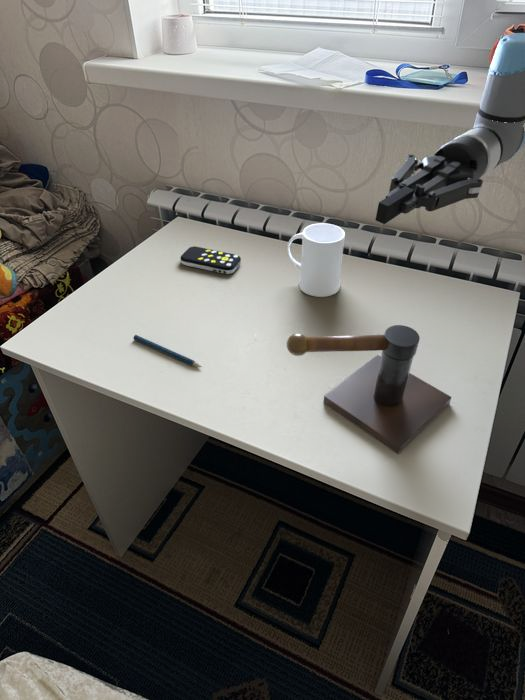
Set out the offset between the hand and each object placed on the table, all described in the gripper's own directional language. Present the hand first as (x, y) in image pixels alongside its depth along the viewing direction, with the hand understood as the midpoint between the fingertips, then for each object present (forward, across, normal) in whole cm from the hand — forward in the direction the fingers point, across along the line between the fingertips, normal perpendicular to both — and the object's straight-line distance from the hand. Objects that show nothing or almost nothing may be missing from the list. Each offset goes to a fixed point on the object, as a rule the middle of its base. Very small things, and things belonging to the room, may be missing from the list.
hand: (381, 213), depth 69 cm
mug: (-13, +20, -29) cm, 38 cm away
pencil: (+22, +24, -28) cm, 43 cm away
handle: (+10, -5, -16) cm, 19 cm away
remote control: (-3, +40, -30) cm, 51 cm away
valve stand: (+6, -10, -27) cm, 29 cm away
